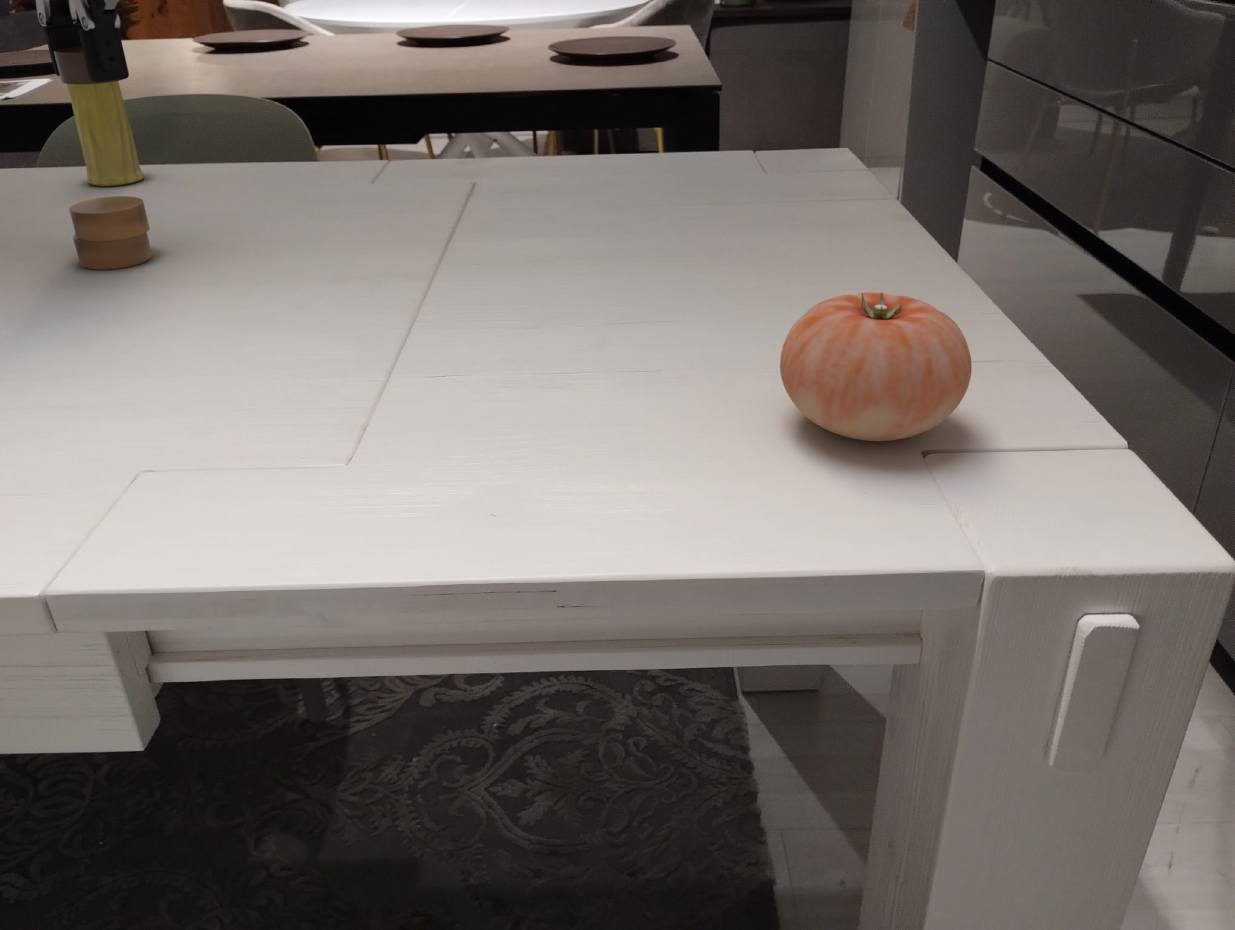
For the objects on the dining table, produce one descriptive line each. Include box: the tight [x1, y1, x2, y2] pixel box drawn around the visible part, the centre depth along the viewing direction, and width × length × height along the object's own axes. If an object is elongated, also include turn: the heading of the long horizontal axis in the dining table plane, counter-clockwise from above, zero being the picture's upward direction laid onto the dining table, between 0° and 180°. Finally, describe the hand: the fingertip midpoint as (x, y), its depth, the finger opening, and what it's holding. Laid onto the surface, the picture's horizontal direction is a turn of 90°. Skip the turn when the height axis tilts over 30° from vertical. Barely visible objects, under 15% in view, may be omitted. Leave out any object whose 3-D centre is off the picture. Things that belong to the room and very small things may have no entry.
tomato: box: [779, 291, 973, 442], centre depth 59 cm, size 11×11×8 cm
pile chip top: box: [68, 195, 150, 242], centre depth 90 cm, size 6×6×2 cm
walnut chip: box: [54, 46, 124, 85], centre depth 87 cm, size 5×5×2 cm
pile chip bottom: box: [72, 231, 153, 271], centre depth 91 cm, size 6×6×2 cm
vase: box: [66, 81, 145, 187], centre depth 116 cm, size 6×6×14 cm
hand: (92, 75), depth 87 cm, fingers closed on walnut chip, 5 cm apart
